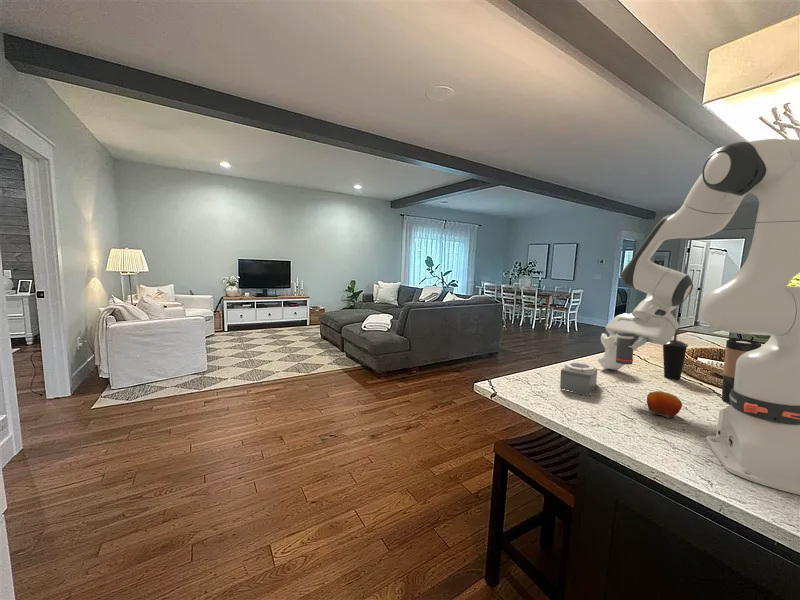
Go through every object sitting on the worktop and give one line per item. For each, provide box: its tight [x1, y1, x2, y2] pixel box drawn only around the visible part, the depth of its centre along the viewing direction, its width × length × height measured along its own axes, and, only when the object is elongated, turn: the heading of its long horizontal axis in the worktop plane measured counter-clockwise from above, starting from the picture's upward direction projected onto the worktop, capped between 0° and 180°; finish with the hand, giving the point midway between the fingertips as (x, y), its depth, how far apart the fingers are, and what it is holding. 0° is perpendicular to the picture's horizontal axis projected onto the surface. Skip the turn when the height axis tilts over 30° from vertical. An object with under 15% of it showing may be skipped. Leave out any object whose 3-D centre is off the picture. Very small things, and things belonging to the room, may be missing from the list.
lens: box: [616, 332, 635, 366], centre depth 108 cm, size 5×5×10 cm
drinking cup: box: [662, 329, 689, 381], centre depth 126 cm, size 8×8×20 cm
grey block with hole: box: [559, 361, 598, 397], centre depth 118 cm, size 14×9×8 cm, turn 140°
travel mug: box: [721, 338, 762, 404], centre depth 103 cm, size 8×8×20 cm
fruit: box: [646, 390, 683, 420], centre depth 95 cm, size 8×8×8 cm
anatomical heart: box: [597, 332, 626, 371], centre depth 137 cm, size 10×11×15 cm
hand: (623, 346), depth 107 cm, fingers closed on lens, 4 cm apart
